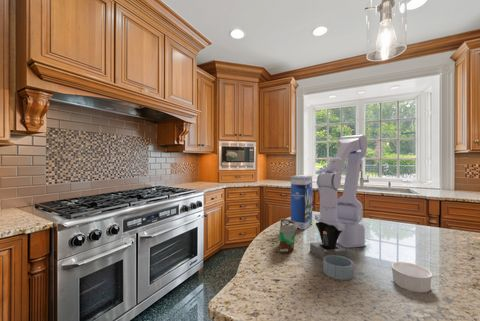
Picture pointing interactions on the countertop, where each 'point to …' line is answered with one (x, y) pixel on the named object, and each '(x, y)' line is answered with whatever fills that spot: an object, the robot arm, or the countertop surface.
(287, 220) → the food container
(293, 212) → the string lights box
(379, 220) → the countertop surface
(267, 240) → the countertop surface
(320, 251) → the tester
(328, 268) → the grey round bowl
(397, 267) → the ramekin
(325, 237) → the battery cell
